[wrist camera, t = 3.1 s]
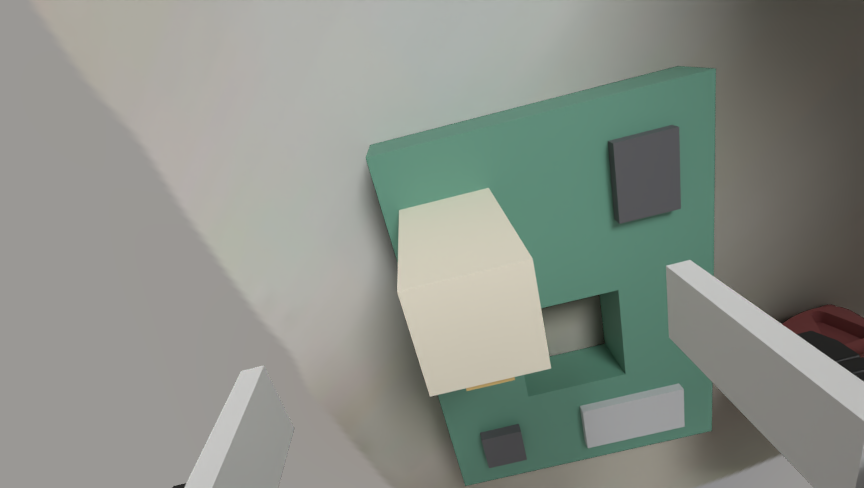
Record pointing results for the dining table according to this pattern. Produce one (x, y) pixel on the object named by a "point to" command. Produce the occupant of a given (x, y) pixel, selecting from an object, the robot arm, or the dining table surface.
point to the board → (581, 258)
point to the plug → (469, 294)
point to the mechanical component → (831, 325)
